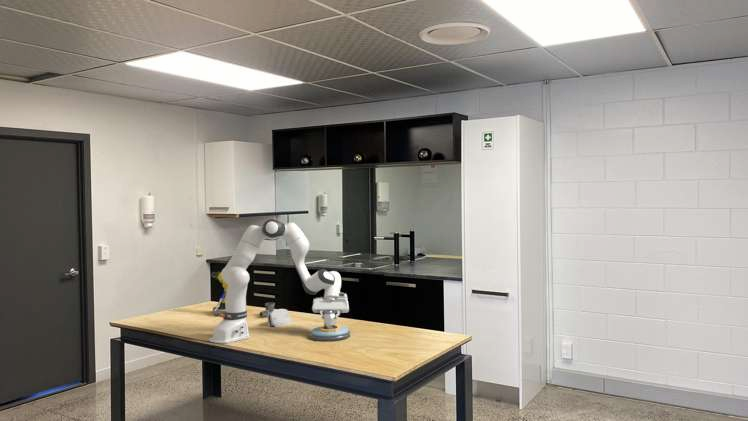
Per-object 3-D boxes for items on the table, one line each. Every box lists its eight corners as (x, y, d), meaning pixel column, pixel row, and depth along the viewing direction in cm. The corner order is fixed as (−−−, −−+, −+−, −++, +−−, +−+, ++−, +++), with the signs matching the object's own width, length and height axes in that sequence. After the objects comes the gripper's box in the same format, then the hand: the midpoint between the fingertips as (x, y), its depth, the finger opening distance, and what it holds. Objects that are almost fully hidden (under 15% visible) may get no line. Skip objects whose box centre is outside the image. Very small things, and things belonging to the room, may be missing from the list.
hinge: (275, 327, 323) (270, 311, 325) (269, 329, 326) (264, 313, 327) (293, 321, 338) (288, 306, 339) (287, 323, 340) (283, 308, 342)
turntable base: (334, 343, 284) (334, 339, 284) (301, 338, 296) (301, 334, 296) (358, 334, 303) (357, 330, 303) (326, 329, 315) (326, 326, 315)
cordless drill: (239, 309, 380) (238, 269, 379) (241, 314, 362) (240, 273, 361) (211, 311, 375) (210, 271, 374) (212, 317, 357) (211, 274, 356)
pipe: (257, 317, 351) (257, 305, 351) (270, 314, 362) (270, 302, 362) (265, 318, 348) (264, 306, 348) (277, 314, 360) (277, 302, 359)
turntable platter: (333, 338, 286) (333, 333, 286) (304, 334, 297) (303, 329, 297) (355, 330, 303) (355, 325, 302) (326, 326, 313) (326, 322, 313)
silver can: (330, 329, 295) (330, 312, 295) (322, 328, 299) (321, 311, 298) (337, 327, 300) (337, 310, 300) (328, 326, 304) (328, 309, 303)
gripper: (312, 294, 307) (309, 315, 297) (349, 294, 305) (347, 315, 296) (314, 300, 311) (311, 321, 302) (350, 300, 310) (348, 321, 300)
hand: (329, 318), depth 299 cm, fingers closed on silver can, 6 cm apart
